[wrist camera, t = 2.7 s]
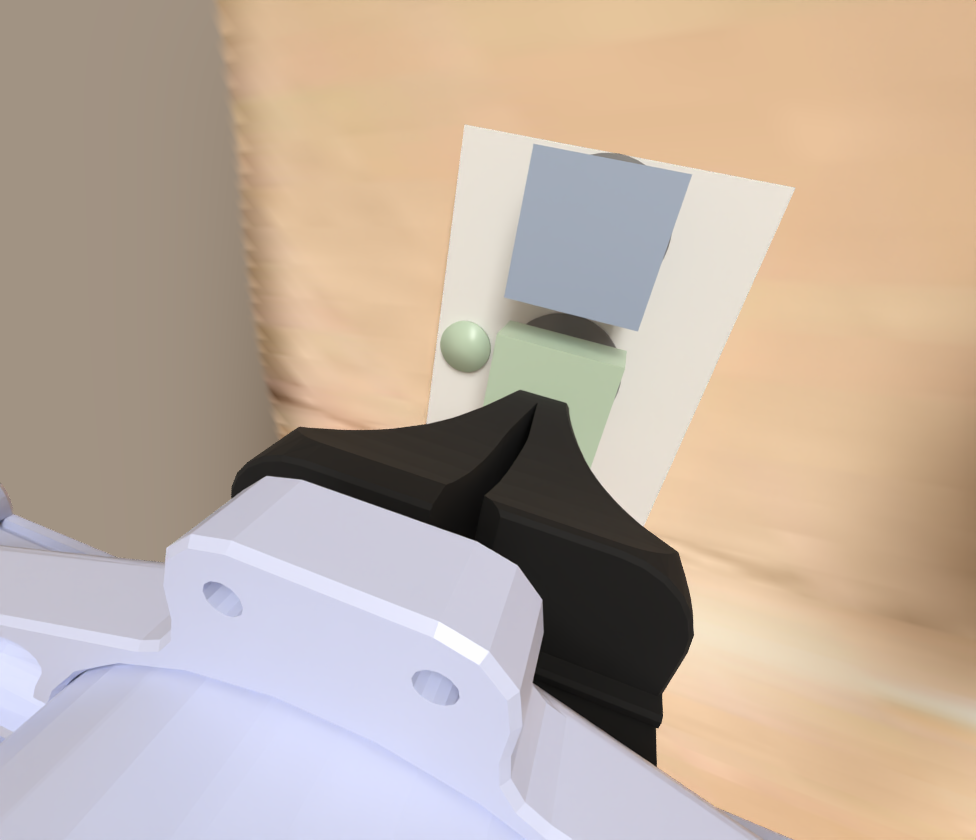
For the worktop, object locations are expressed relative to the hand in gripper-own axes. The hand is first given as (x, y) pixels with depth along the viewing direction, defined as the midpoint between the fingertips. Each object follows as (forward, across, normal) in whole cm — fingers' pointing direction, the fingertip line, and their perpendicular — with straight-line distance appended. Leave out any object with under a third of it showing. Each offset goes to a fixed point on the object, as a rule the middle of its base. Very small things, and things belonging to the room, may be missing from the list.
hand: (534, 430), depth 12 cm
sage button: (+3, 0, 0) cm, 3 cm away
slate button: (+3, 0, -4) cm, 5 cm away
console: (+6, 0, 0) cm, 6 cm away
